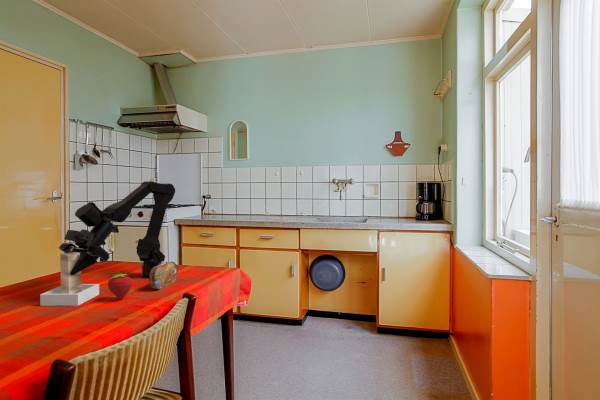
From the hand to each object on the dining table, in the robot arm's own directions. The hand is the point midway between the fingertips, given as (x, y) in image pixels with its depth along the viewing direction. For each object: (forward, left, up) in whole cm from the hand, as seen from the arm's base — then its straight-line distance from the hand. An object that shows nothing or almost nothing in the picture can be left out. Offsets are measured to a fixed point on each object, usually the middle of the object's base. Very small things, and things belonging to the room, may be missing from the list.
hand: (66, 273), depth 113 cm
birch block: (-1, -1, -7) cm, 7 cm away
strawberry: (-17, -1, -9) cm, 19 cm away
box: (-1, -1, -9) cm, 9 cm away
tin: (-25, -17, -9) cm, 31 cm away
